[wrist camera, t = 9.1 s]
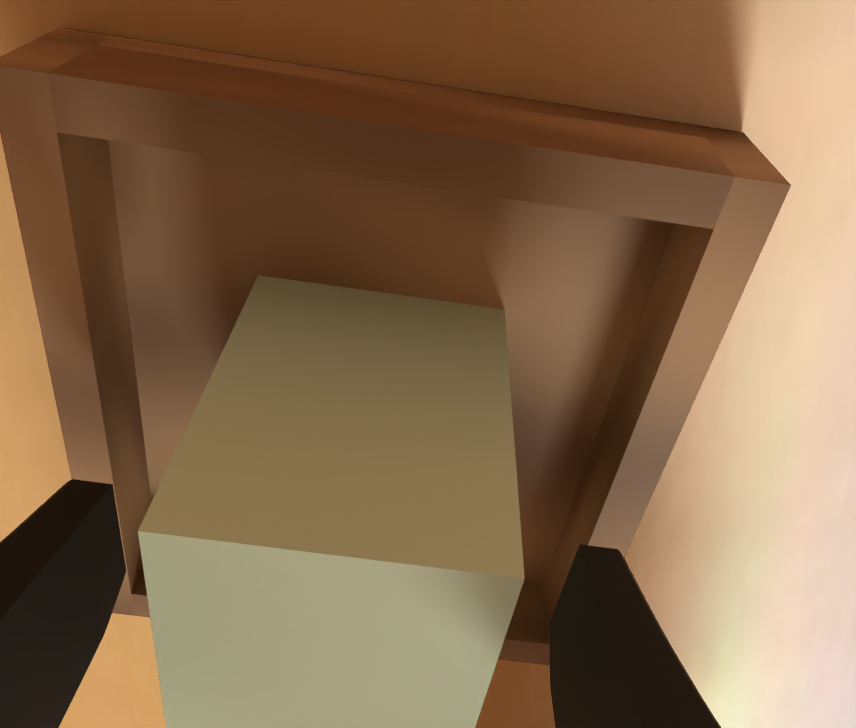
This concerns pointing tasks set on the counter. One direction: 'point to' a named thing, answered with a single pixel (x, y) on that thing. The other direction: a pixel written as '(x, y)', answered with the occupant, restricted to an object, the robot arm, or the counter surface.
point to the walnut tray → (375, 259)
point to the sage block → (339, 518)
